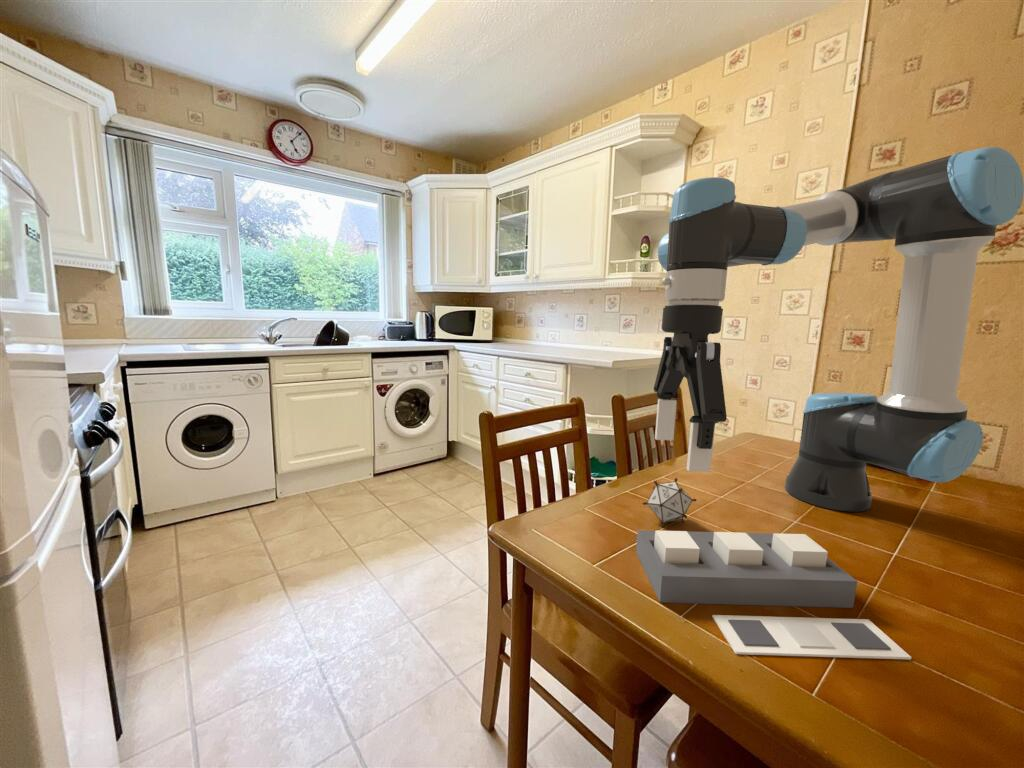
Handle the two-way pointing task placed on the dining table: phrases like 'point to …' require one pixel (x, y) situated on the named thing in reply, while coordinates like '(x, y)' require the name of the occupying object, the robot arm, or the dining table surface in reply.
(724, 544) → the middle button
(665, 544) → the button far
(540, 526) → the dining table surface
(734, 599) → the button board
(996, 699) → the dining table surface
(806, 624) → the pattern card
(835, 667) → the dining table surface
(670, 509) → the game die
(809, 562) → the button near arm
